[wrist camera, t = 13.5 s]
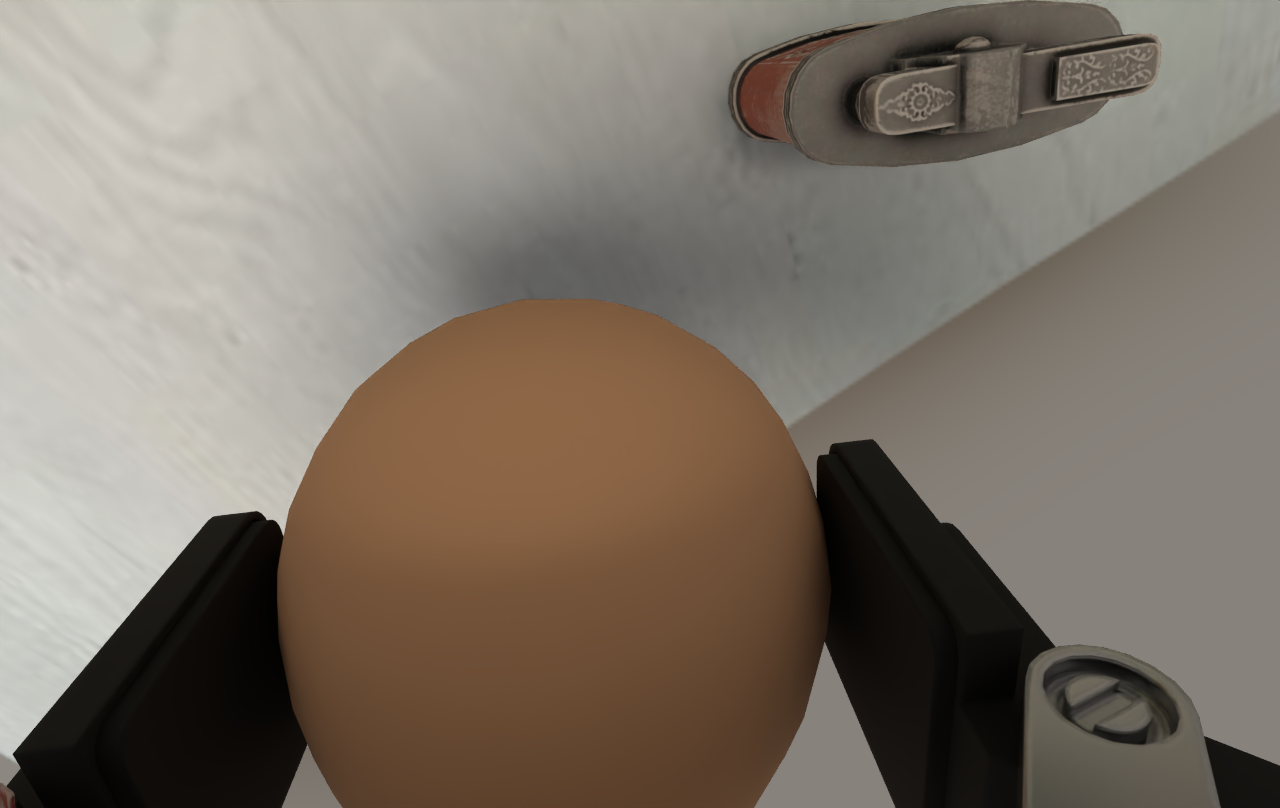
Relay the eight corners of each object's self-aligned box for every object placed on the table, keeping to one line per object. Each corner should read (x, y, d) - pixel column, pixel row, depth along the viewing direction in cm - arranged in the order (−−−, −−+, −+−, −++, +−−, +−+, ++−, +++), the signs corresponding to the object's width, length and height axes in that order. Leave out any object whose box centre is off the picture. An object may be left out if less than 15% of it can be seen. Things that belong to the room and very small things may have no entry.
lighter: (733, 156, 25) (828, 205, 16) (722, 45, 24) (819, 29, 15) (969, 116, 25) (1195, 142, 16) (972, 4, 24) (1222, -37, 15)
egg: (537, 153, 12) (463, 284, 5) (834, 414, 15) (1120, 795, 7) (293, 459, 14) (-52, 922, 6) (590, 648, 17) (600, 1156, 9)
